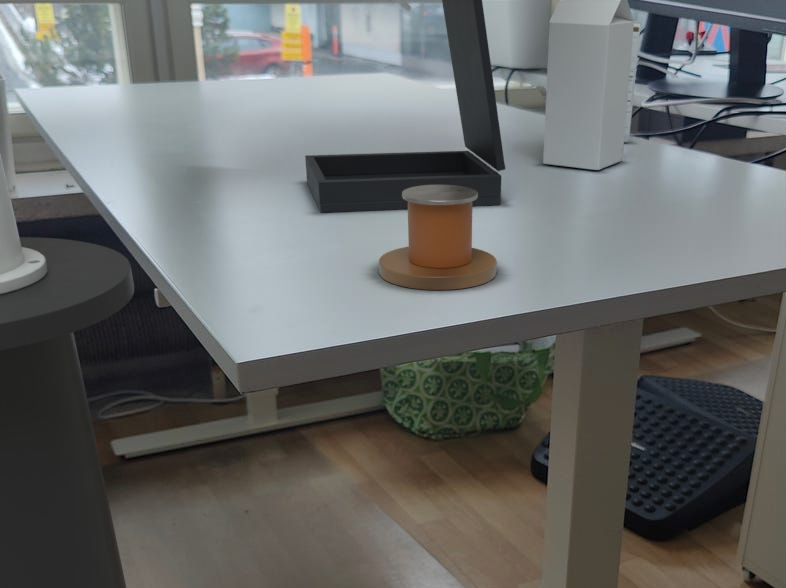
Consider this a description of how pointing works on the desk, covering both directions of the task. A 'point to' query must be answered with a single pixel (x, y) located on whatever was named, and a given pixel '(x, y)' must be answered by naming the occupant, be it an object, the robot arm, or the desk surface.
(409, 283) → the coaster
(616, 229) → the desk surface
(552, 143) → the milk carton
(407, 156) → the tray
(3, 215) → the robot arm
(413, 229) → the coffee pod
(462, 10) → the holder lid
